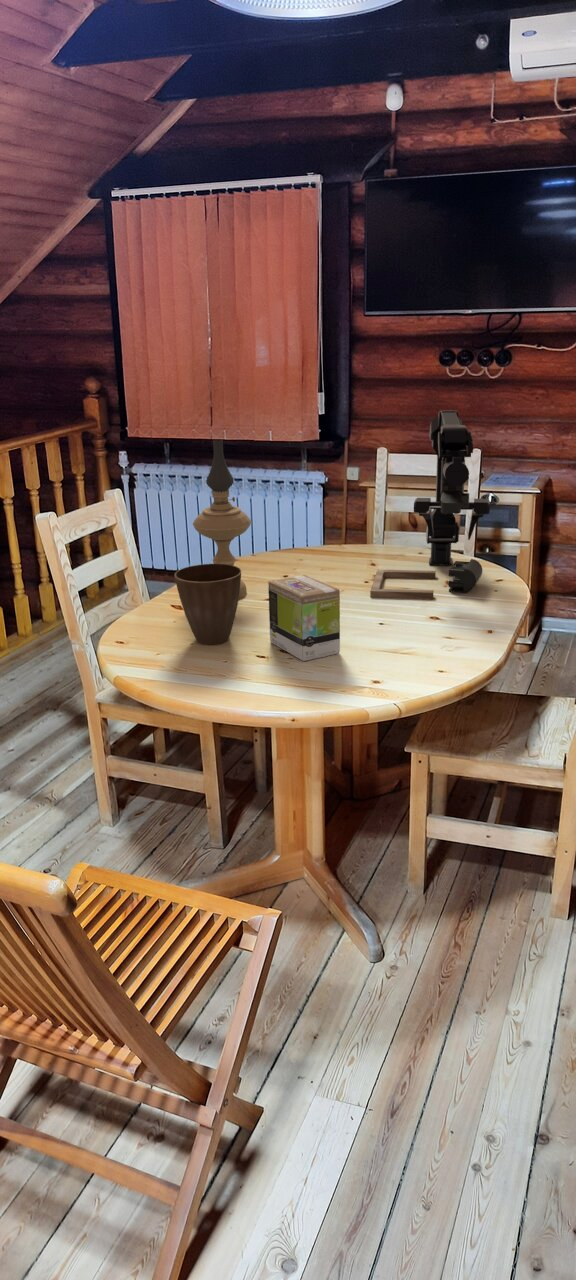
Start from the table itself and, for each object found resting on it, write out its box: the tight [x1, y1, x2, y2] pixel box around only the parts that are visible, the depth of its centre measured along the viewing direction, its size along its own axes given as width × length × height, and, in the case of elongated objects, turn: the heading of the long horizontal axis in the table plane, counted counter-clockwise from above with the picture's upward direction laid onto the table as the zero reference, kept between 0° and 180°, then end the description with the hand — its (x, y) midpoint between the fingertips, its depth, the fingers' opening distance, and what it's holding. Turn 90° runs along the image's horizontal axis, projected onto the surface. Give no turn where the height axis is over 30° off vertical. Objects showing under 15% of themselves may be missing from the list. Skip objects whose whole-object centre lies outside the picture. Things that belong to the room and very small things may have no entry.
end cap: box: [448, 558, 483, 594], centre depth 246 cm, size 10×7×7 cm
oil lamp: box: [192, 439, 252, 599], centre depth 241 cm, size 15×15×40 cm
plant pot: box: [174, 563, 242, 646], centre depth 213 cm, size 15×15×16 cm
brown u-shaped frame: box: [369, 568, 437, 600], centre depth 250 cm, size 20×16×2 cm
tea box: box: [267, 574, 341, 662], centre depth 206 cm, size 15×10×15 cm, turn 30°
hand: (450, 539), depth 240 cm, fingers open, 9 cm apart
